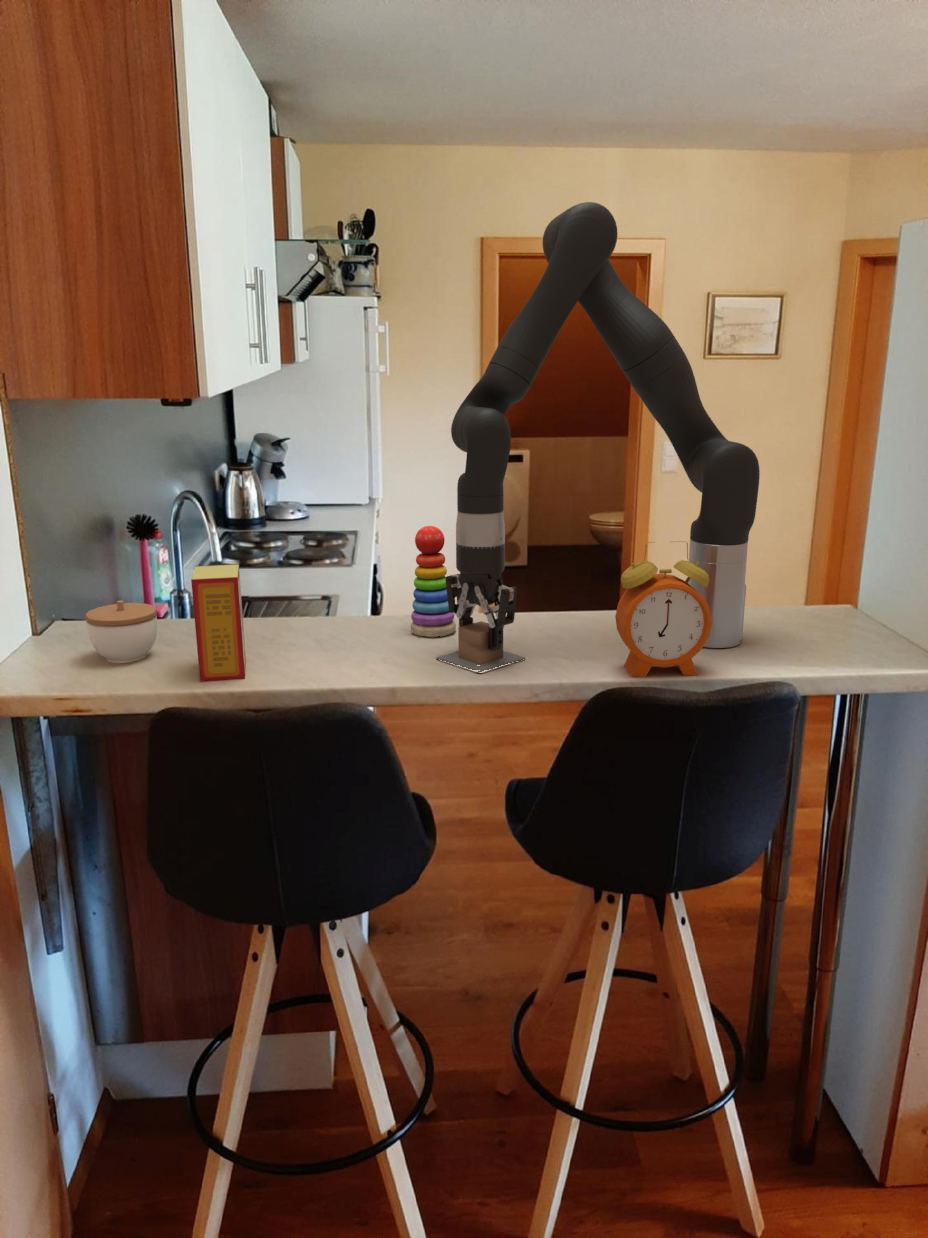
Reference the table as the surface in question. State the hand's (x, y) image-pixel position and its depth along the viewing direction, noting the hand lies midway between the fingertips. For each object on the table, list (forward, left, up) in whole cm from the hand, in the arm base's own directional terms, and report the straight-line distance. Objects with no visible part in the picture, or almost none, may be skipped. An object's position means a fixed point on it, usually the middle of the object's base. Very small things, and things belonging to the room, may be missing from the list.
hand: (480, 644), depth 148 cm
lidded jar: (+40, -41, -3) cm, 57 cm away
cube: (0, 0, -2) cm, 2 cm away
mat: (0, 0, -3) cm, 3 cm away
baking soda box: (+32, -24, -3) cm, 40 cm away
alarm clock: (-16, +23, -3) cm, 28 cm away
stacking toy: (-5, -17, -3) cm, 18 cm away
